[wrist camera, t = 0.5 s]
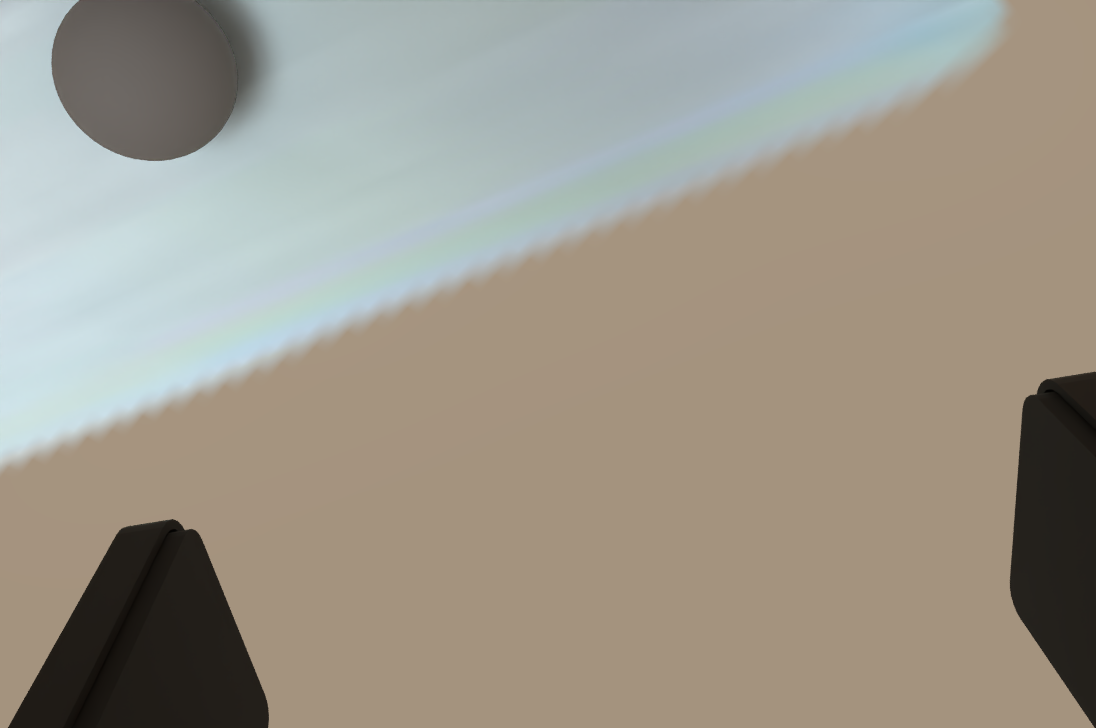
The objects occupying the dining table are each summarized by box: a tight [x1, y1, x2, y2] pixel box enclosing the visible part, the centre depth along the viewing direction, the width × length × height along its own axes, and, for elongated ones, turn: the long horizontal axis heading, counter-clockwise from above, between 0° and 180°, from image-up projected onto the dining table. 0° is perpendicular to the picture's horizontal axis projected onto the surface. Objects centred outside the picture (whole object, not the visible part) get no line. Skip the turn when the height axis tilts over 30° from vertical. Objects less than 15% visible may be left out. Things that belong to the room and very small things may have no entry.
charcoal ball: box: [52, 0, 238, 161], centre depth 34 cm, size 6×6×6 cm
